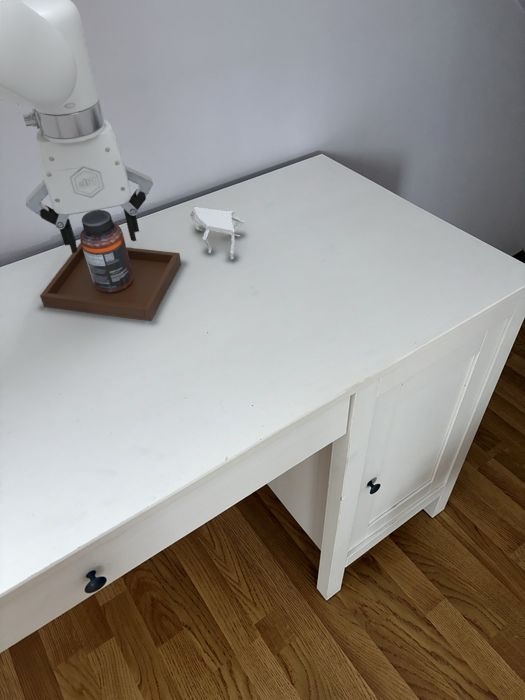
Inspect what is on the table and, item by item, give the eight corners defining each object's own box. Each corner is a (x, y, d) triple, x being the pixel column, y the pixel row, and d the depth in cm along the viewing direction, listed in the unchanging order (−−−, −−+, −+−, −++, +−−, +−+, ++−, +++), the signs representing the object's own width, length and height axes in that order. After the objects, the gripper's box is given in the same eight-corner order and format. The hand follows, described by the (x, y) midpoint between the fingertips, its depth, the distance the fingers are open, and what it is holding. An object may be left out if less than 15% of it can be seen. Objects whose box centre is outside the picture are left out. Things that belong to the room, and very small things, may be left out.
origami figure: (260, 238, 93) (259, 212, 90) (231, 265, 88) (229, 238, 85) (202, 219, 98) (199, 193, 95) (171, 243, 93) (167, 217, 90)
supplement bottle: (114, 265, 88) (97, 201, 80) (142, 278, 86) (127, 212, 78) (85, 286, 85) (65, 220, 77) (114, 299, 82) (95, 233, 74)
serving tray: (44, 307, 82) (39, 295, 81) (84, 253, 92) (80, 242, 90) (151, 321, 80) (148, 309, 78) (181, 264, 89) (179, 252, 87)
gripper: (-6, 142, 63) (41, 269, 76) (147, 119, 67) (169, 244, 79) (-5, 116, 69) (39, 239, 81) (138, 96, 72) (159, 217, 84)
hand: (103, 241), depth 80 cm, fingers open, 7 cm apart
